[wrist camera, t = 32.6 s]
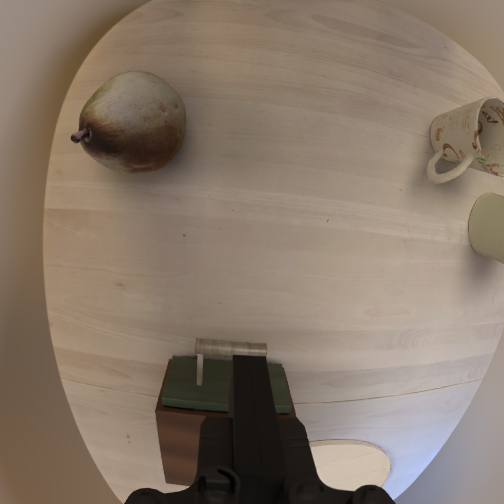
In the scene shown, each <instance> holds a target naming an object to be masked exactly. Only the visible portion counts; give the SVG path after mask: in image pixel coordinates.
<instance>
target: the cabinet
mask: <svg viewBox="0 0 504 504" xmlns="http://www.w3.org/2000/svg"><path fill="white" fill-rule="evenodd" d="M171 360H172V359H169V362H168V365H167V369H166V373H165V376H164V380H163V383H162V387H161V391H160V394H159V398H158V402H157V406H156V409H155V413H156V421H157V429H158V437H159V444H160V451H161V457H162V464H163V470H164V475H165V481H166V483H169V484H176V485H185V486H191V485H192V484H193V483H194V479H195V476H196V473H197V461H198V448H199V437H200V425H201V423H202V422H203V420H204V419H205V418H206V416H214V417H229V413H219V412H206V411H195V410H186V409H177V408H171V406H164V405H162V394H163V390H164V387H165V383H166V379H167V375H168V372H169V368H170V364H171ZM282 368H283V367H282ZM283 371H284V368H283ZM284 375H285V379H286V383H287V387H288V391H289V395H290V399H291V403H292V408H291V412H290V413H280V415H277V418H297V417H296V413H295V409H294V405H293V401H292V398H291V394H290V390H289V386H288V382H287V378H286V374H285V371H284Z"/></svg>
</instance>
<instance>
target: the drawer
mask: <svg viewBox="0 0 504 504" xmlns="http://www.w3.org/2000/svg"><path fill="white" fill-rule="evenodd" d="M195 354H198V355H197V359H195V358H186V357H177V356H173V357H172V360H171V364H170V368H169V372H168V375H167V379H166V383H165V387H164V390H163V394H162V405H164V406H171V408H177V409H186V410H195V409H199V410H210V411H224V412H229V405H228V397H229V387H230V377H231V367H232V362H230V361H217V360H206V359H204V355H212V356H224V357H233V354H234V355H250V356H266V355H267V345H266V343H248V342H233V341H221V340H209V339H198V338H197V339H196V346H195ZM267 366H268V371H269V377H270V382H271V388H272V393H273V399H274V404H275V409H276V415H280V413H290V412H291V408H292V403H291V399H290V395H289V391H288V387H287V383H286V379H285V375H284V371H283V368H282V364H267Z"/></svg>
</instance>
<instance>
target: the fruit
mask: <svg viewBox="0 0 504 504" xmlns="http://www.w3.org/2000/svg"><path fill="white" fill-rule="evenodd" d="M185 121H186V116H185V106H184V102H183V99H182V98H181V96H180V95H179V94H178V92H177V91H176V90H175V89H174V88H173V87H171V86H170V85H169V84H168V83H167V82H166V81H165V80H163V79H162V78H160V77H159V76H157V75H155V74H153V73H150V72H144V71H128V72H124V73H120V74H118V75H116V76H115V77H113V78H112V79H110V80H109V81H108V82H106V83H105V84H104V85H103V86H101V87H100V88H99V89H98V90H97V91H96V92H95V93H94V94H93V96H92V97H91V98H90V99H89V100H88V102H87V103H86V105H85V106H84V108H83V110H82V112H81V114H80V119H79V131H78V132H77V133H74V134H72V135H71V140H72V141H73V142H74V143H79V142H81V144H82V146H83V148H84V150H85V151H86V152H87V153H88V154H89V155H90V156H91V157H92V158H94V159H95V160H96V161H97V162H99V163H100V164H102V165H104V166H105V167H107V168H109V169H111V170H114V171H117V172H120V173H126V174H138V173H148V172H152V171H155V170H158V169H160V168H162V167H164V166H165V165H167V164H168V163H169V162H170V161H171V160H172V159H173V157H174V156H175V154H176V153H177V151H178V149H179V148H180V145H181V143H182V140H183V137H184V131H185Z"/></svg>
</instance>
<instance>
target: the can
mask: <svg viewBox="0 0 504 504" xmlns="http://www.w3.org/2000/svg"><path fill="white" fill-rule="evenodd" d="M469 238H470V242H471V245H472V247H473V249H474V250H475V251H476V252H477V253H478V254H480V255H485V256H487V257H490V258H492V259H494V260H496V261H499V262H501V263H503V264H504V196H500V195H497V194H495V193H486V194H484V195H482V196H481V197H480V198H479V199H478V200H477V202H476V203H475V205H474V207H473V209H472V212H471V215H470V219H469Z"/></svg>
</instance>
